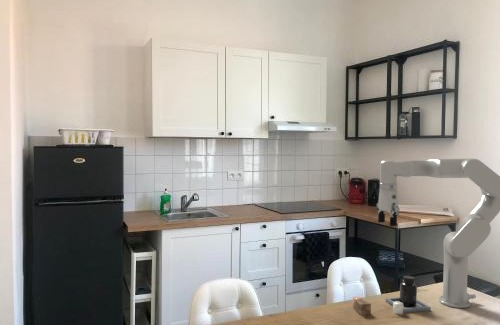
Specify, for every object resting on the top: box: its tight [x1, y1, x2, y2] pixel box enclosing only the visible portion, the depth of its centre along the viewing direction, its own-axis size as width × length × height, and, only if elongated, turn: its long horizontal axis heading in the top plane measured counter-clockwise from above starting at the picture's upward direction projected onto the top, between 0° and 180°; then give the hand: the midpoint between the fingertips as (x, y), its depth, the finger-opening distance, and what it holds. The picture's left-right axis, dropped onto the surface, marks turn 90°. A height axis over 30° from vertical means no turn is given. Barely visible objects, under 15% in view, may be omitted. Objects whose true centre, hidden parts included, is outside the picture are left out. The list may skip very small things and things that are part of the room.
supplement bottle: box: [399, 275, 418, 307], centre depth 176 cm, size 7×7×12 cm
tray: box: [385, 296, 432, 314], centre depth 176 cm, size 13×13×2 cm
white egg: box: [392, 301, 404, 315], centre depth 168 cm, size 4×4×4 cm
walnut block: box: [354, 299, 372, 316], centre depth 167 cm, size 4×4×4 cm
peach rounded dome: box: [352, 296, 364, 310], centre depth 173 cm, size 4×4×4 cm
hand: (387, 224), depth 188 cm, fingers open, 9 cm apart
